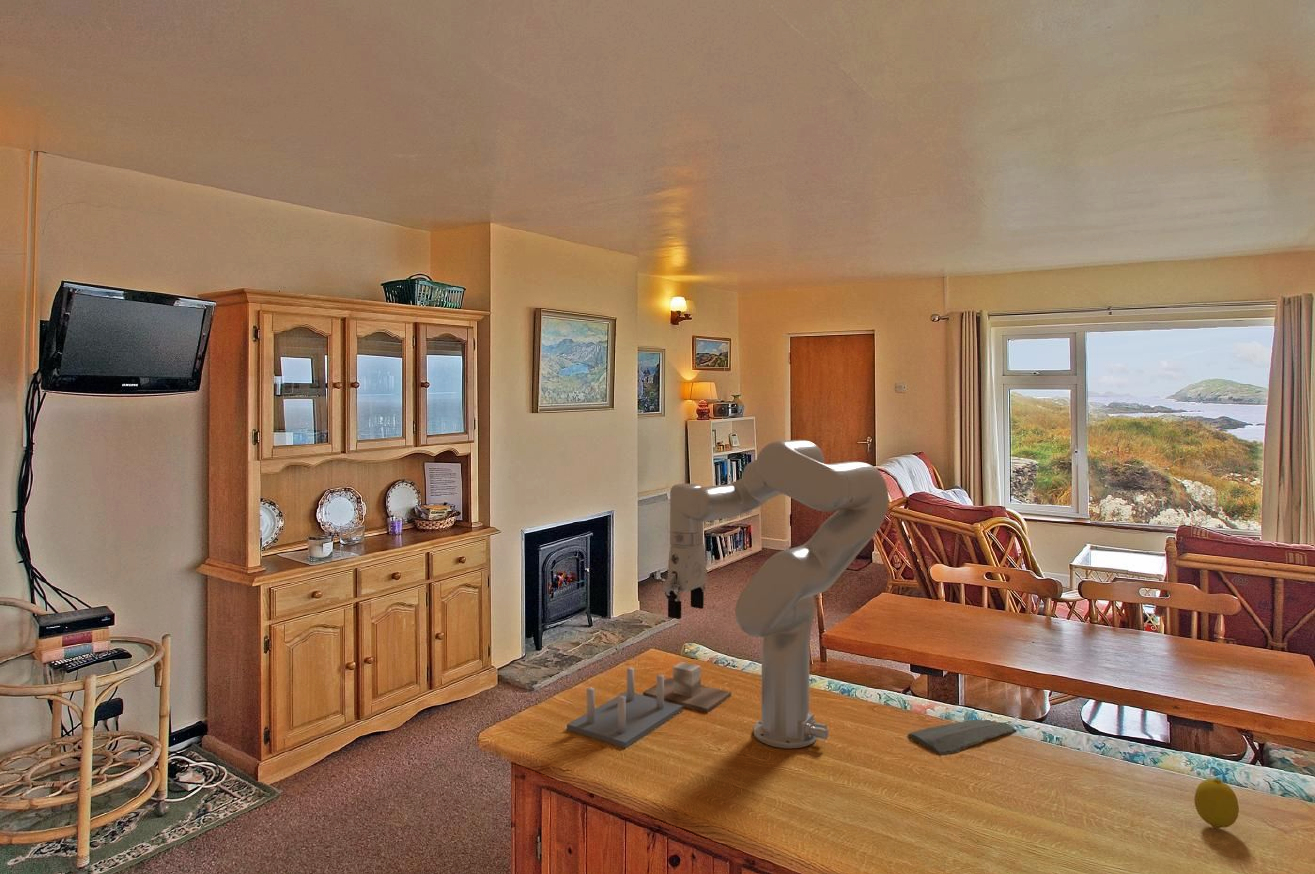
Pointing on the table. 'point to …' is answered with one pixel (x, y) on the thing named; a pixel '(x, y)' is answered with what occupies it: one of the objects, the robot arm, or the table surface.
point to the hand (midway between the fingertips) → (686, 612)
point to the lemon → (1216, 803)
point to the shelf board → (689, 702)
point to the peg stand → (625, 715)
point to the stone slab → (959, 735)
